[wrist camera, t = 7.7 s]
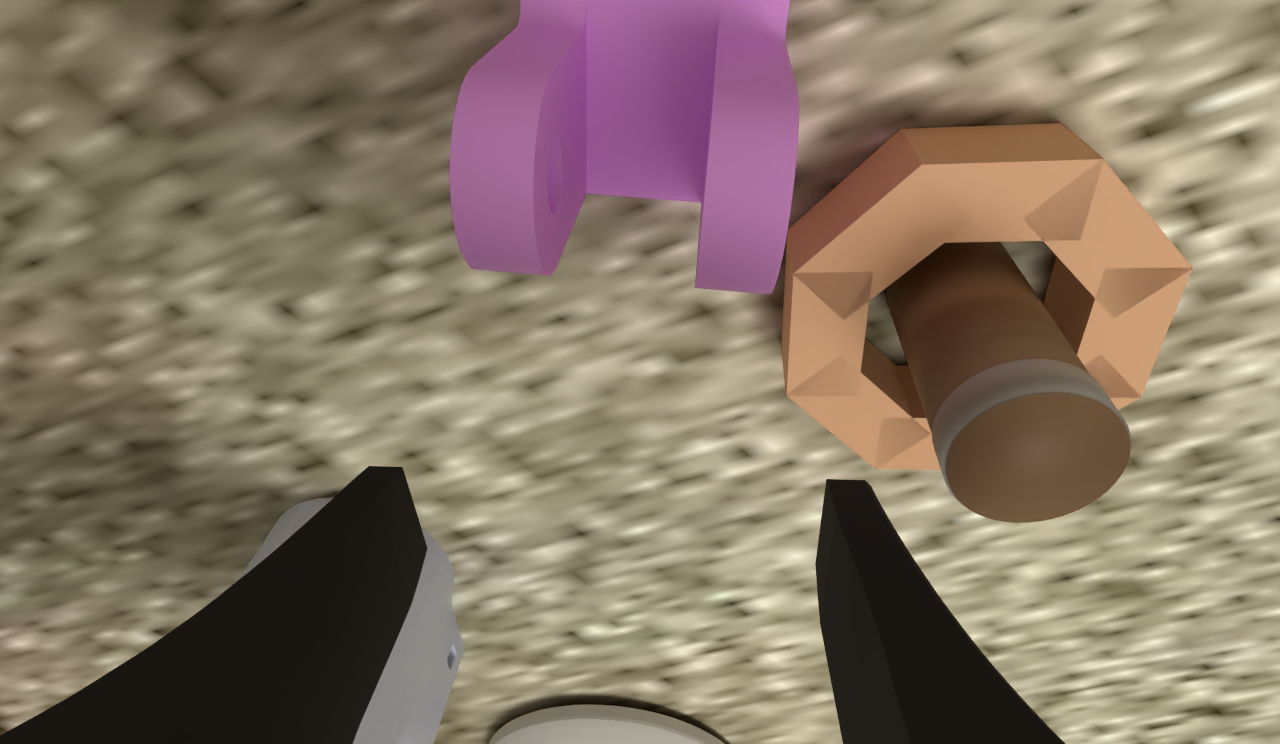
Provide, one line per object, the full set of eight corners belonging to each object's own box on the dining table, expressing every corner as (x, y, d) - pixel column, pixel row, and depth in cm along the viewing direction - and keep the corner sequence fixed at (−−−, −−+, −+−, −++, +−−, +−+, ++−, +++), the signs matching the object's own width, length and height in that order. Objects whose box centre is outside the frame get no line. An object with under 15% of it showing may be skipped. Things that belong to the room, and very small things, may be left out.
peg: (1000, 336, 20) (1104, 526, 15) (877, 337, 21) (931, 522, 15) (1028, 225, 19) (1158, 394, 13) (891, 228, 19) (960, 393, 13)
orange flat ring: (1076, 416, 22) (1110, 472, 20) (777, 414, 23) (781, 467, 21) (1179, 118, 17) (1238, 154, 15) (791, 132, 18) (798, 167, 16)
